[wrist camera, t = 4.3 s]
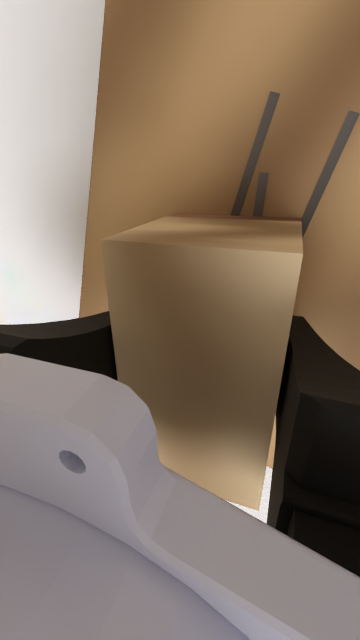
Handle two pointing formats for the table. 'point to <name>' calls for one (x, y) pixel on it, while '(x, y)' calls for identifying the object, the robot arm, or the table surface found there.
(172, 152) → the oak board
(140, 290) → the block
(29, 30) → the table surface
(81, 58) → the table surface
